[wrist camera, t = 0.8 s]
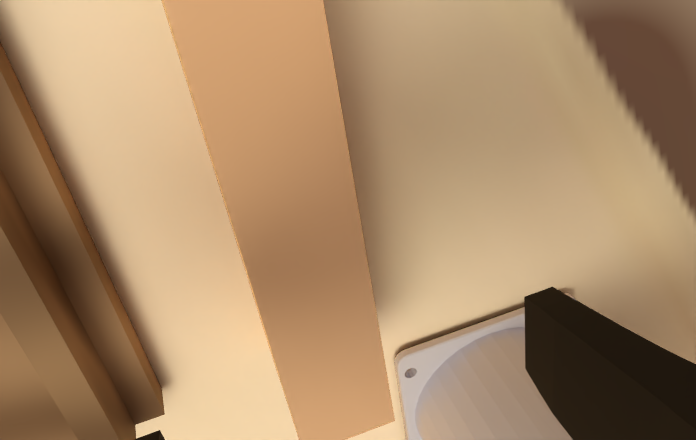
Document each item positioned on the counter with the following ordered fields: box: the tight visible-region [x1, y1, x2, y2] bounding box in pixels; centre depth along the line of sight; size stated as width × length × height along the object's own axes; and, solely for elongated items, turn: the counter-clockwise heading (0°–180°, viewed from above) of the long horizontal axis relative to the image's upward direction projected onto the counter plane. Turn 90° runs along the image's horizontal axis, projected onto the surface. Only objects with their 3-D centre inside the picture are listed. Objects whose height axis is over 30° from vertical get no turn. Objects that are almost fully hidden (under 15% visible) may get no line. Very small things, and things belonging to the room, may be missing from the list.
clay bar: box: [161, 0, 395, 440], centre depth 18 cm, size 14×3×5 cm, turn 9°
